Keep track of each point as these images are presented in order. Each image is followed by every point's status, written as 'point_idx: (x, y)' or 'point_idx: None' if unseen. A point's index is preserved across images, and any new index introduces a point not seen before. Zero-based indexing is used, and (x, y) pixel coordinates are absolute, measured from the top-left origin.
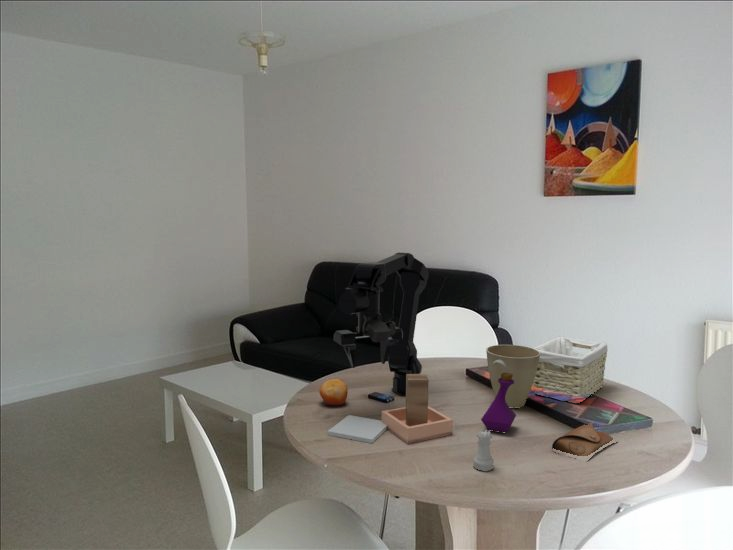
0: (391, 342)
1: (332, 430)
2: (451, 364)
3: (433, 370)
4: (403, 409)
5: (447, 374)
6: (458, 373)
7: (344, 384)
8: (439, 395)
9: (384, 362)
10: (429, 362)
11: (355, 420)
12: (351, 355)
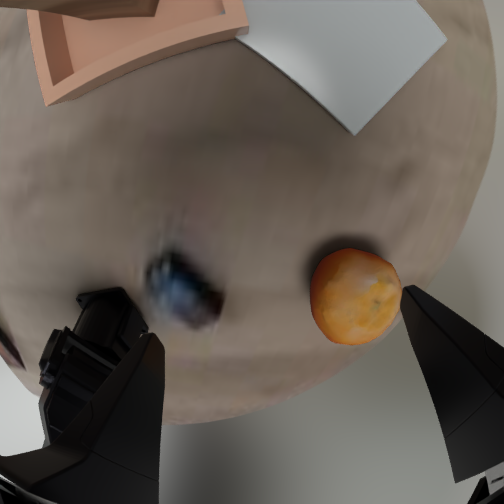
0: (27, 474)
1: (435, 35)
2: None
3: None
4: (137, 42)
5: None
6: (29, 359)
7: (332, 311)
8: (33, 270)
9: (142, 339)
10: None
11: (347, 75)
12: (495, 344)
